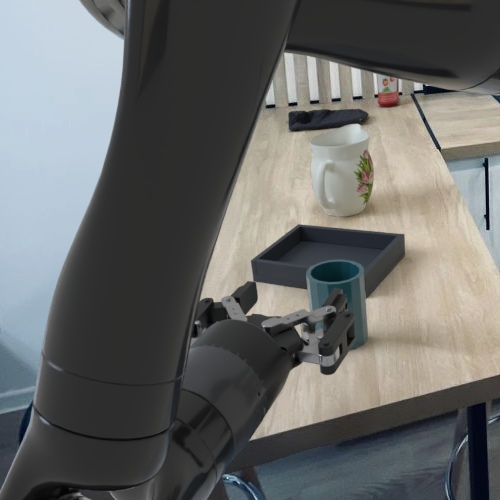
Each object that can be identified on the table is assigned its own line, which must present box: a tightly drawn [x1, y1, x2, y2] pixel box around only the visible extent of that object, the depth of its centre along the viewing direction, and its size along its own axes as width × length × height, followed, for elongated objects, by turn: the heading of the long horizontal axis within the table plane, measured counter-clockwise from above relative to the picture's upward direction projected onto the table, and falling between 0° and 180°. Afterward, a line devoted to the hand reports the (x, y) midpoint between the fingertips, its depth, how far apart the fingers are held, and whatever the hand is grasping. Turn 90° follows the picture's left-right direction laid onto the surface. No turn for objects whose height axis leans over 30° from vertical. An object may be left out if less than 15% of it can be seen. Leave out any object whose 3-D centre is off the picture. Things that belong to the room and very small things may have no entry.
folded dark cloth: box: [287, 108, 370, 132], centre depth 184 cm, size 15×22×5 cm
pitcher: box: [309, 123, 375, 218], centre depth 114 cm, size 11×18×14 cm, turn 151°
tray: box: [250, 223, 406, 299], centre depth 96 cm, size 18×15×3 cm
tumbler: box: [306, 260, 369, 351], centre depth 73 cm, size 6×6×10 cm
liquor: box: [375, 74, 401, 108], centre depth 192 cm, size 7×7×28 cm
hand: (295, 293), depth 61 cm, fingers open, 8 cm apart
